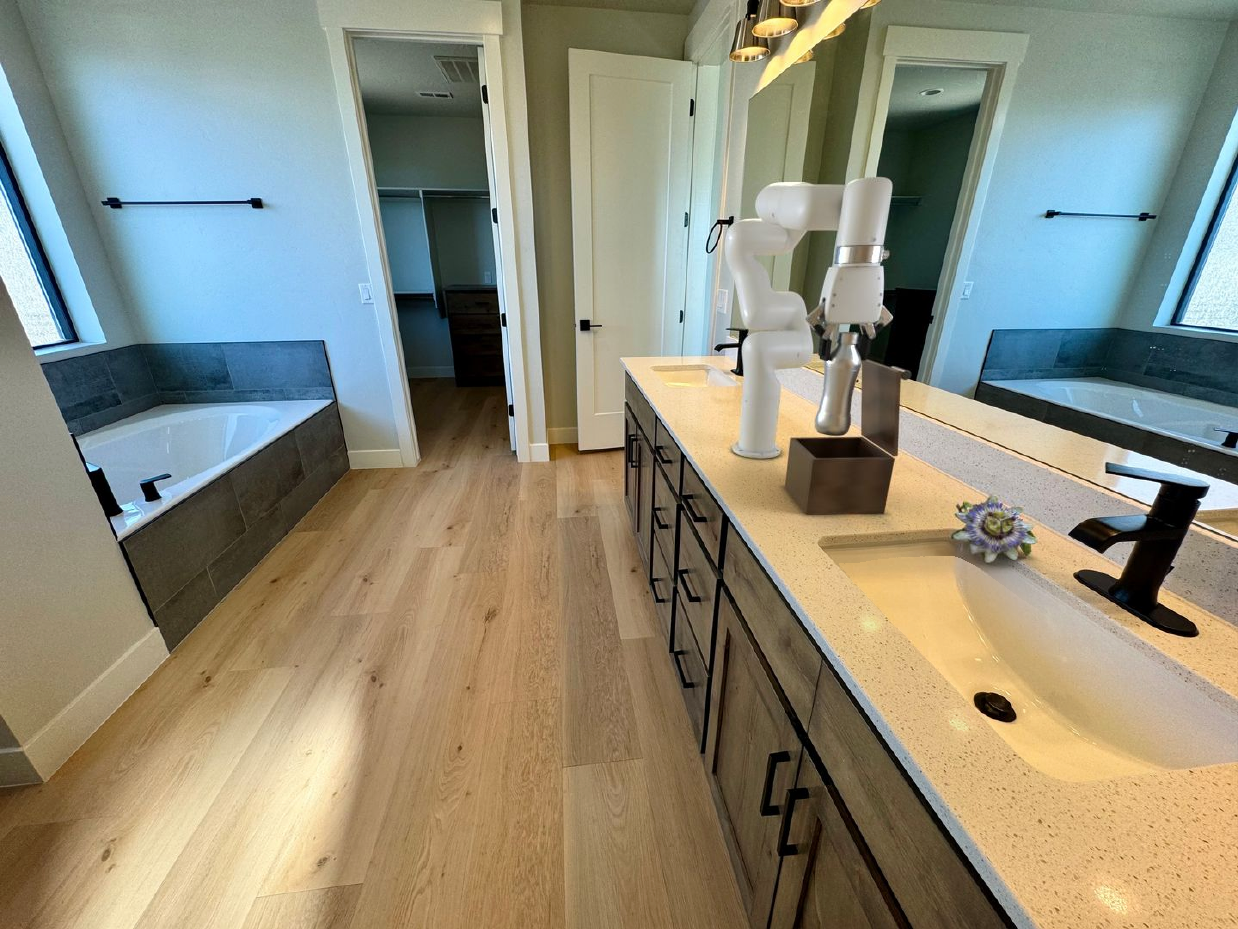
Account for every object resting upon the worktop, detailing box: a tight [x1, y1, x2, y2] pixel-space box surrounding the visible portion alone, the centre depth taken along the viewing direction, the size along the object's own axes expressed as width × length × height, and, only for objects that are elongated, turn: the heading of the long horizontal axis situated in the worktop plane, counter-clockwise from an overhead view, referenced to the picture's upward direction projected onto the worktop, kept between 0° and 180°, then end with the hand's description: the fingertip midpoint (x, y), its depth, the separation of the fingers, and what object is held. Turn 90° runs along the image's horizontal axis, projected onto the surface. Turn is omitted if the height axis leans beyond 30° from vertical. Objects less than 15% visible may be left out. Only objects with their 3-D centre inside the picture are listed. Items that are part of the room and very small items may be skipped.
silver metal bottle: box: [814, 331, 862, 437], centre depth 96 cm, size 6×7×20 cm
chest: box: [784, 436, 896, 516], centre depth 102 cm, size 16×14×12 cm
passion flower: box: [950, 493, 1038, 564], centre depth 83 cm, size 11×11×12 cm
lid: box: [860, 359, 912, 457], centre depth 97 cm, size 16×14×5 cm
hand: (842, 358), depth 94 cm, fingers closed on silver metal bottle, 6 cm apart
